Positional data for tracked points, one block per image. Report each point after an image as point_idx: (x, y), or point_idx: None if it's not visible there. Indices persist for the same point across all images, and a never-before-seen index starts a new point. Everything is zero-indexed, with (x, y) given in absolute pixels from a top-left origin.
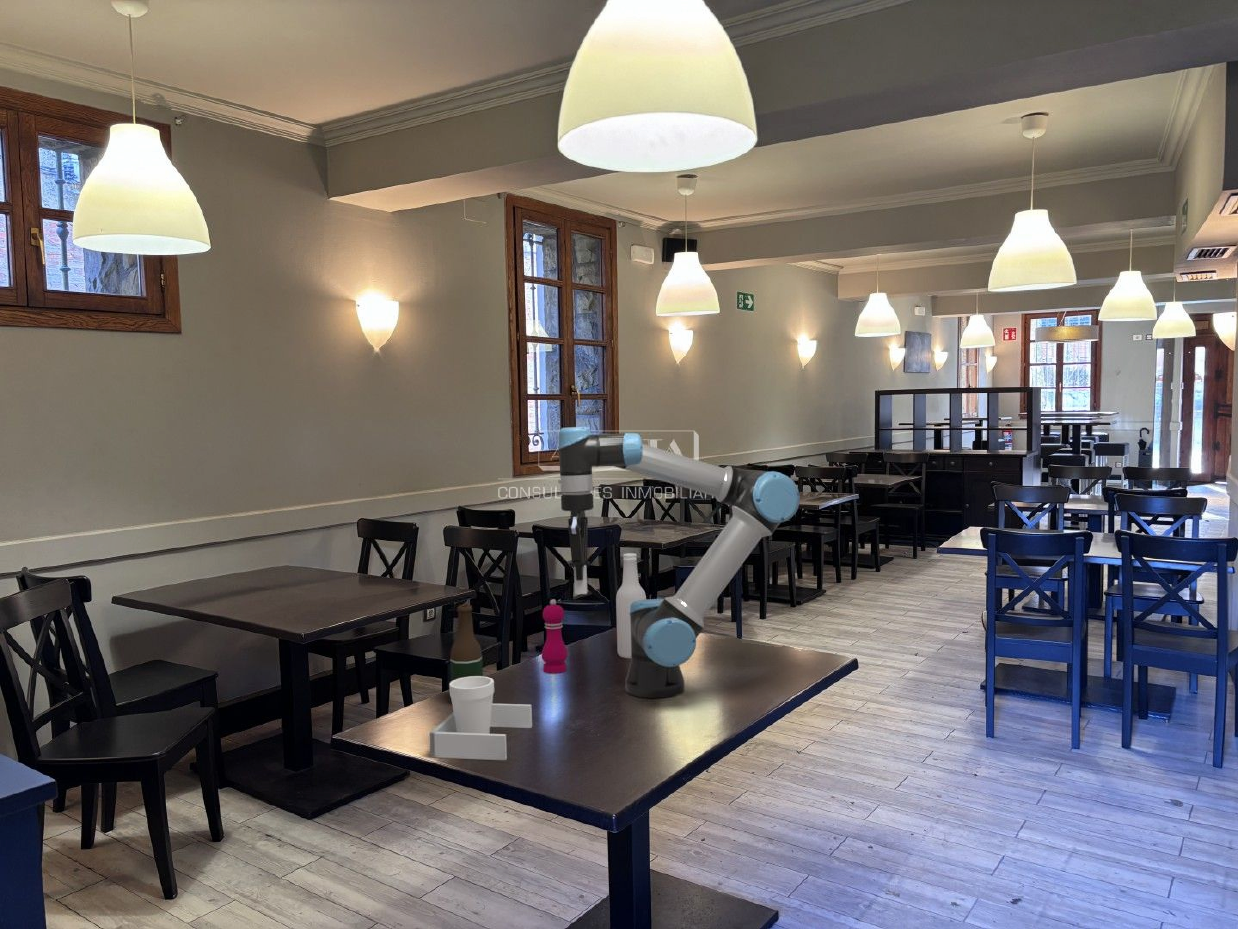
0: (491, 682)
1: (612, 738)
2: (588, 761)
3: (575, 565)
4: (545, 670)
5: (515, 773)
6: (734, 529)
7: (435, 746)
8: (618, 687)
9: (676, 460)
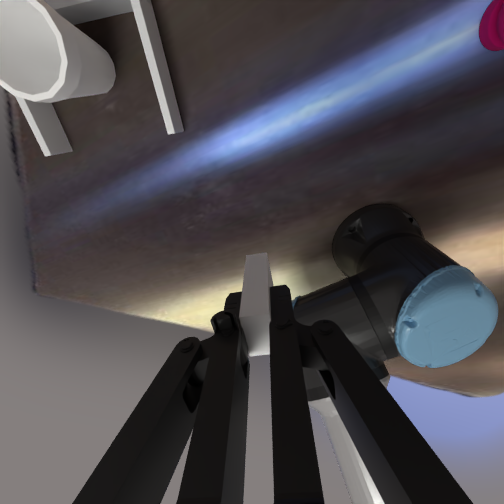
0: (43, 96)
1: (185, 245)
2: (116, 242)
3: (202, 342)
4: (493, 1)
5: (47, 181)
6: None
7: None
8: (382, 191)
9: None
